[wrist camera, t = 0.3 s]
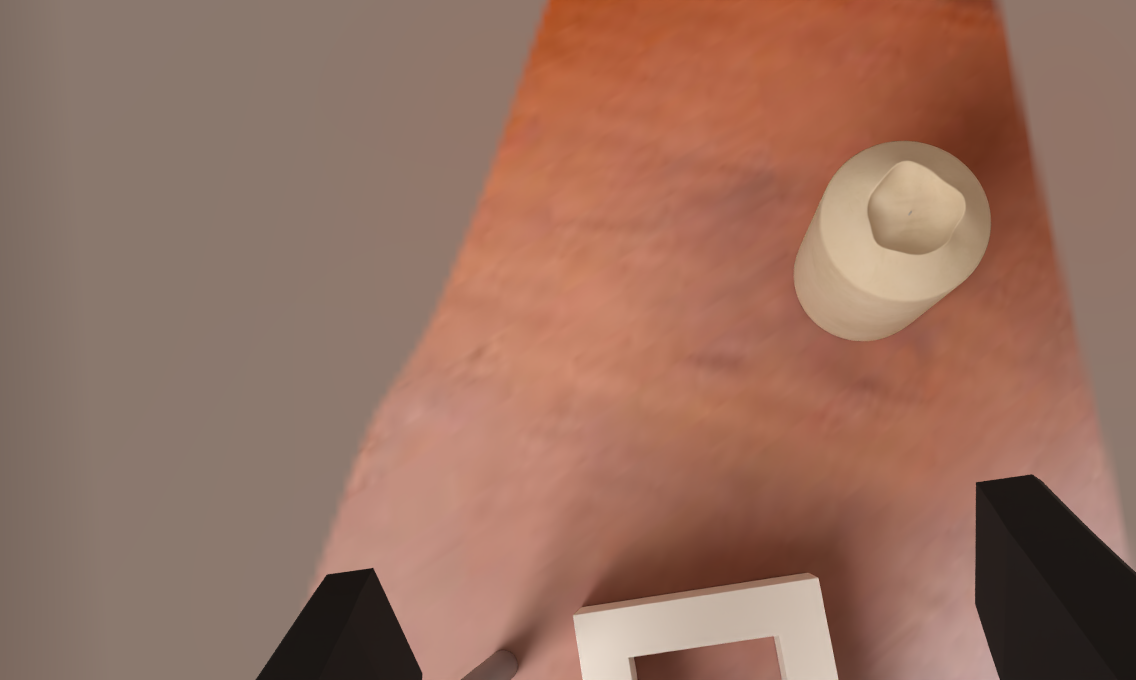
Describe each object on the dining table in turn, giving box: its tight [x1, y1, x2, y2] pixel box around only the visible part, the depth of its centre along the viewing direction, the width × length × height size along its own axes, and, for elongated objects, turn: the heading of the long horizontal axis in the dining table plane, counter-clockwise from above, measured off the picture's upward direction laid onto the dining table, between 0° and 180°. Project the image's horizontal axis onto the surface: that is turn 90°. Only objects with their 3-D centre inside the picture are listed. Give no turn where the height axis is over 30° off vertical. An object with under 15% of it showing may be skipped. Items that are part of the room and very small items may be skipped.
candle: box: [794, 141, 991, 341], centre depth 37 cm, size 6×6×10 cm
